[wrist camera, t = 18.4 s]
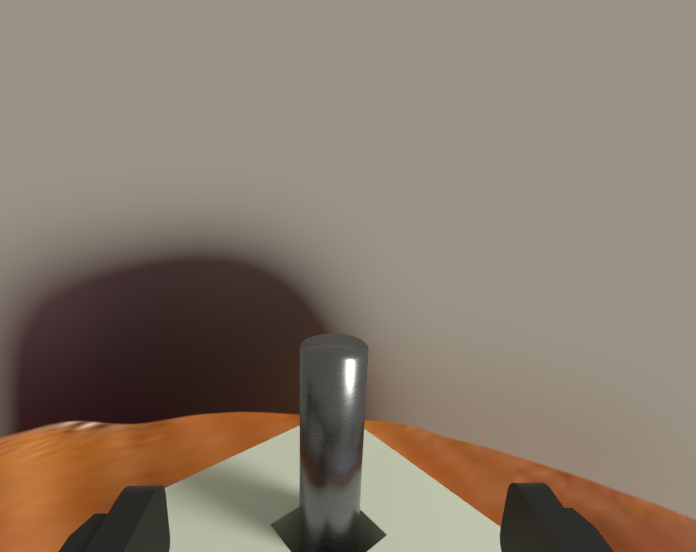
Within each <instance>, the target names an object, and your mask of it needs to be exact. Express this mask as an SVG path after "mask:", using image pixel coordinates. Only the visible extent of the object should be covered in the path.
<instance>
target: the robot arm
mask: <svg viewBox="0 0 696 552" xmlns="http://www.w3.org/2000/svg"><path fill="white" fill-rule="evenodd" d="M500 546H501V551H502V552H614V551H613V550H612V549H611V547H610V546H609V545H608V543H607V542H606V541H605V539H604V538H603V537H602V535H601V534H600V533H599V531H598V530H597V529H596V528H595V527H594V526H593V525H592V524H591V523H590V522H588V521H587V520H586V519H585V518H584V517H582V516H581V515H580V514H579V513H578V512H576V511H575V510H574V509H573V508H564V507H563V506H562V505H561V503H560V502H559V500H558V499H557V497H556V496H555V495H554V493H553V492H552V490H551V489H550V488H549V487H548V486H547V485H546V484H545V483H512V484H510V485H509V488H508V491H507V497H506V502H505V508H504V513H503V518H502V524H501V529H500ZM169 549H170V530H169V521H168V511H167V501H166V492H165V488H164V487H163V486H127V487H126V488H124V489H123V491H122V492H121V493H120V495H119V497H118V498H117V500H116V501H115V503H114V505H113V506H112V508H111V509H110V511H109V513H108V514H94V515H93V516H92V517H91V518H89V519H88V520H87V521H86V522H85V523H84V524H83V525H81V526H80V527H79V528H78V529H77V530H76V531H75V532H74V533H72V534H71V535H70V536H69V537H68V539H67V540H66V542H65V543H64V545H63V546H62V548H61V549H60V550H59V552H169Z"/></svg>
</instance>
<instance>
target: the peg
mask: <svg viewBox="0 0 696 552" xmlns="http://www.w3.org/2000/svg"><path fill="white" fill-rule="evenodd" d="M367 364H368V346H367V344H366V343H365V342H364V341H362V340H361V339H358V338H356V337H353V336H350V335H344V334H322V335H316V336H313V337H310V338H308V339H306V340H305V341H303V343H302V344H301V346H300V483H299V552H358V534H359V515H360V496H361V477H362V459H363V440H364V421H365V401H366V383H367Z"/></svg>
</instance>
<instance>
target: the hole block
mask: <svg viewBox="0 0 696 552" xmlns="http://www.w3.org/2000/svg"><path fill="white" fill-rule="evenodd" d="M299 483H300V426H298V427H296V428H293V429H291V430H289V431H287V432H285V433H283V434H281V435H278V436H276V437H274V438H272V439H270V440H268V441H265V442H263V443H261V444H259V445H257V446H255V447H252V448H250V449H248V450H246V451H244V452H242V453H239V454H237V455H235V456H233V457H231V458H229V459H226V460H224V461H222V462H220V463H218V464H216V465H213V466H211V467H209V468H207V469H205V470H203V471H200V472H198V473H196V474H194V475H192V476H190V477H188V478H185V479H183V480H181V481H179V482H177V483H175V484H172V485H170V486H168V487H166V488H165V492H166V501H167V511H168V521H169V530H170V549H169V552H299ZM500 529H501V527H499V526H498V525H497V524H495V523H494V522H493V521H491V520H490V519H488V518H487V517H486V516H484V515H483V514H481V513H480V512H479V511H477V510H476V509H475V508H473V507H472V506H470V505H469V504H468V503H466V502H465V501H463V500H462V499H461V498H459V497H458V496H457V495H455V494H454V493H452V492H451V491H450V490H448V489H447V488H445V487H444V486H443V485H441V484H440V483H439V482H437V481H436V480H434V479H433V478H432V477H430V476H429V475H427V474H426V473H425V472H423V471H422V470H421V469H419V468H418V467H416V466H415V465H414V464H412V463H411V462H409V461H408V460H407V459H405V458H404V457H403V456H401V455H400V454H398V453H397V452H396V451H394V450H393V449H391V448H390V447H389V446H387V445H386V444H385V443H383V442H382V441H380V440H379V439H378V438H376V437H375V436H373V435H372V434H371V433H369V432H368V431H367V430H365V429H364V440H363V459H362V477H361V496H360V515H359V534H358V552H502V551H501V546H500Z"/></svg>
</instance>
